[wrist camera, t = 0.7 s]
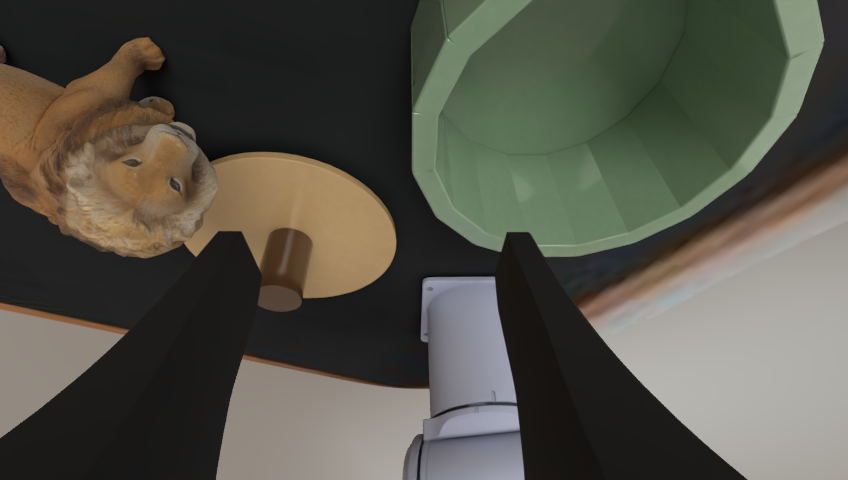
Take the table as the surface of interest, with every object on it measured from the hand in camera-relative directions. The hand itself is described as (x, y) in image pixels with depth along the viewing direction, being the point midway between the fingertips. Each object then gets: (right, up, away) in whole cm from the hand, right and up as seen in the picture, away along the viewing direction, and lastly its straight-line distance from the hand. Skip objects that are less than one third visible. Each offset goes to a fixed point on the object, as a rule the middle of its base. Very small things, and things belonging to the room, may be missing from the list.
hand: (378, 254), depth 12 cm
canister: (+7, +8, +5) cm, 12 cm away
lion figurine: (-12, +9, +5) cm, 16 cm away
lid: (-7, +1, +13) cm, 15 cm away
